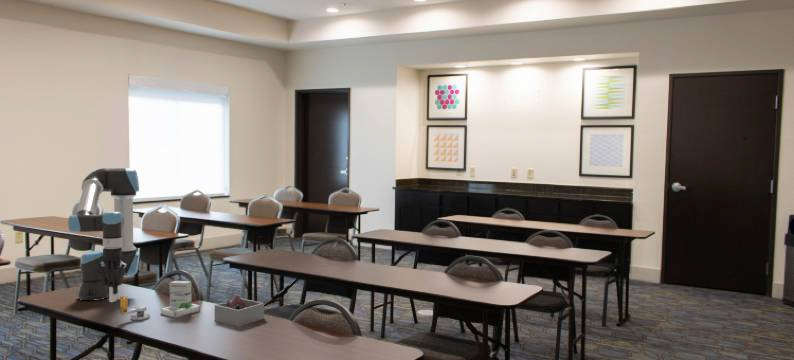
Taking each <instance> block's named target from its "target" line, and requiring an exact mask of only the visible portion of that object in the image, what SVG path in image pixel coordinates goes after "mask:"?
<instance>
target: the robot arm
mask: <svg viewBox="0 0 794 360" xmlns="http://www.w3.org/2000/svg"><path fill="white" fill-rule="evenodd" d="M80 187H81V188H80V189H81V195H80V198H79V203H78V206H77V210H76V214H71V215H69V216H68V220H67V221H68V222H67V227H68V230H69V232H73V233H83V232H84V233H85V232H86V233H87V232H90V233H91V232H102V247H103V249H97V250H90V251H87V252H85V253H83V254H82V255H81V258H80V273H81V274H80V276H81V277H80V282H81V283H80V286H79V289H78V292H77V300H78V299H82V300H94V299H102V298H107V297H109V298H107V299H108V300H109V303H114V302H116V301H117V294H118V292H119V288H118V287H119V286H122V285H123V282H124V277H125V276H133V275H136V274H137V273H138V270H139V268H138V267H139V264H140V263H139V262H140V253H141V252H140V251H139V250H138V249H137V247H136V246H135V245H134V201H133V200H134V197H136V195H137V192H139V191H140V183H139V176H138V172H137V170H136V169H134V168H130V167H129V168H128V167H125V168H124V167H122V168H121V167H120V168H119V167H118V168H117V167H116V168H115V167H113V168H112V167H111V168H109V167H108V168H107V167H105V168H104V167H103V168H98V169H96V170H94V171H92V172H90V173H89V174H88V175H87V176H85V178H84V179H83V180H82V183H81V186H80ZM103 192H104V193H105V192H109V193H110V196H111V198H113V205H114V206H113V208H114V209H113V210H114V211H113V210H112V211H105V212H103V213H102V214H96V211H97V207H98V203H99V199H100V195H101V194H102V193H103ZM137 250H138V251H137Z"/></svg>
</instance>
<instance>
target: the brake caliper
mask: <svg viewBox="0 0 794 360" xmlns="http://www.w3.org/2000/svg"><path fill="white" fill-rule="evenodd" d="M232 300H233V301H232V302H231V303H230V302H229V301H231V299H229V298H226V299H225V301H224V302H223V303H224V304H225V305H227V306H226V307H228V308H232V309H237V310H240V306H239V305H238V304H241V305H242V306H241V309H244V308H246V304H245V303H244V301H243V300H241V297H240V296H239V295H237V294H235V296H234V298H233V299H232ZM238 300H240V301H238ZM234 301H235V303H234Z"/></svg>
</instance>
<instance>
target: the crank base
mask: <svg viewBox="0 0 794 360" xmlns="http://www.w3.org/2000/svg"><path fill="white" fill-rule="evenodd" d="M148 319H151V314H150V313H147V312H145V311H143V312H136V313H133V314H132V315H130V320H131V321H145V320H148Z"/></svg>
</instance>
